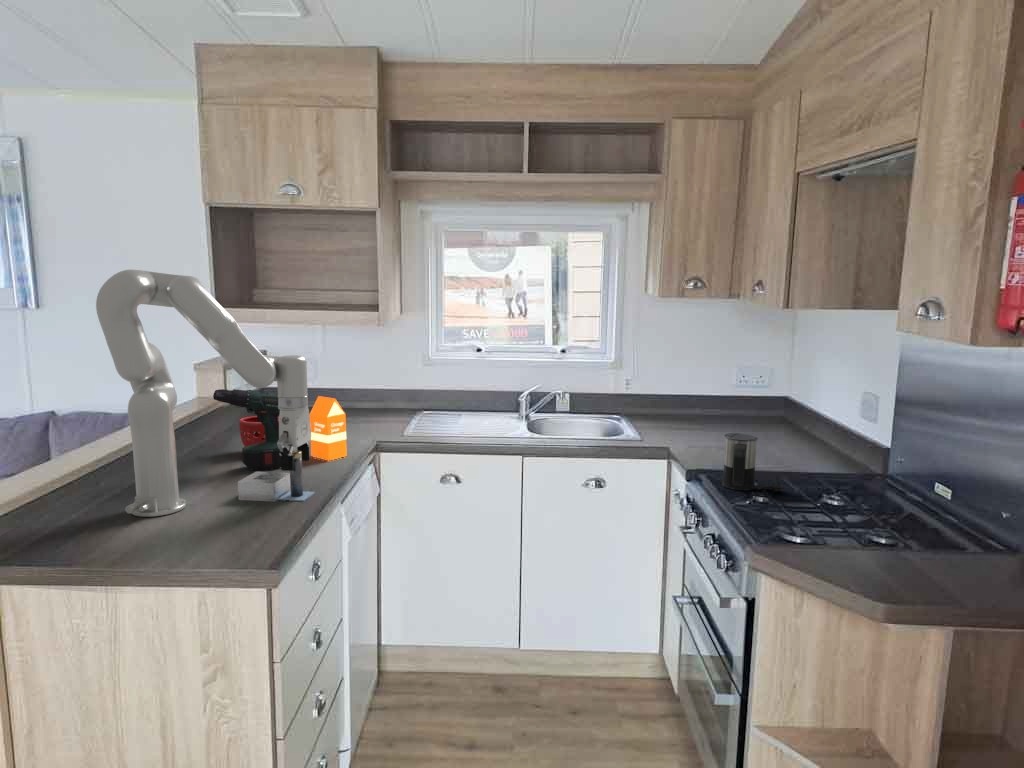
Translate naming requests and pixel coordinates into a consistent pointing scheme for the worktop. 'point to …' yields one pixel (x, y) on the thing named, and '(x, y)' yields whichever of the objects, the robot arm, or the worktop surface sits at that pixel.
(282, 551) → the worktop surface
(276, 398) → the power drill
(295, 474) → the metal cylinder with cap
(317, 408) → the orange juice
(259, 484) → the block
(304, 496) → the rubber mat
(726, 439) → the milk frother
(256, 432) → the plant pot
